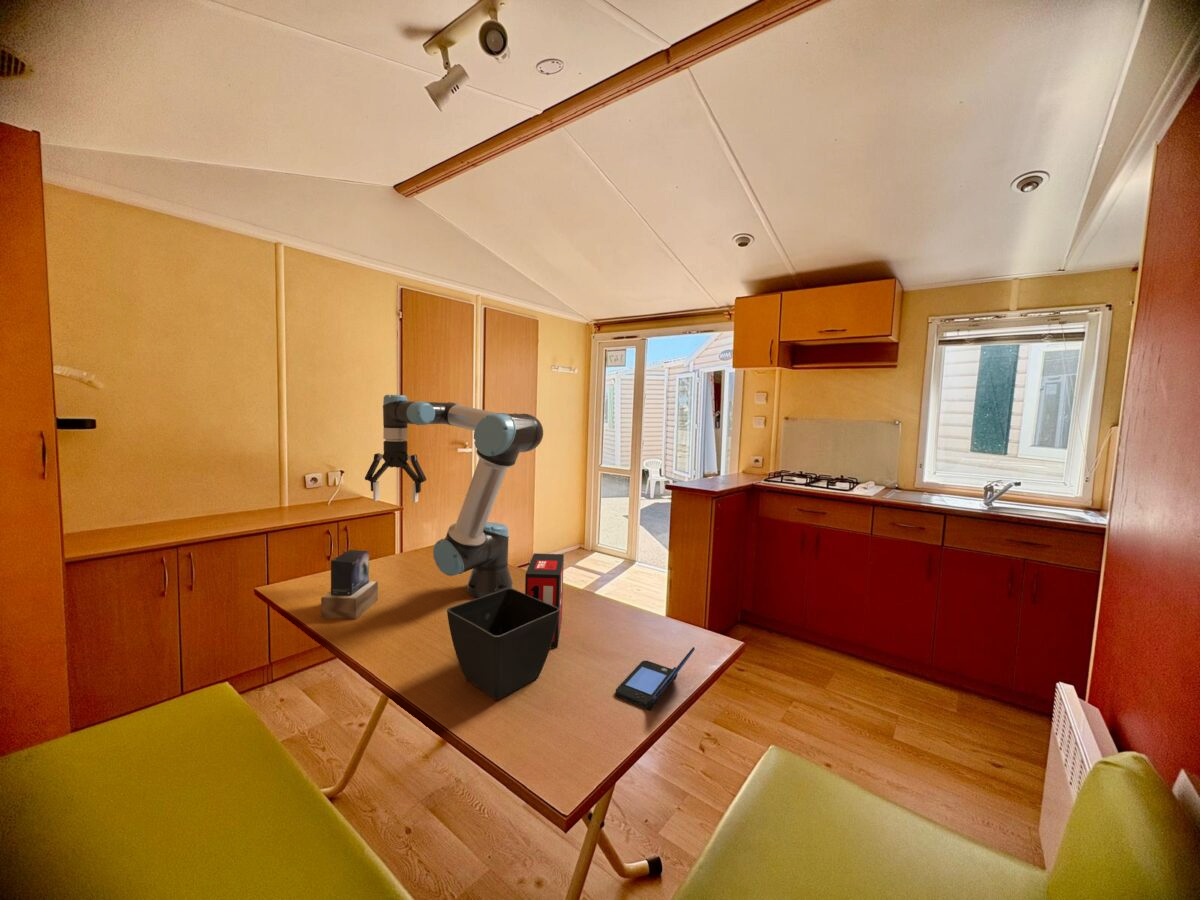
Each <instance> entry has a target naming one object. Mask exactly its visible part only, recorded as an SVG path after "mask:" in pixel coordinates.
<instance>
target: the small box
mask: <svg viewBox="0 0 1200 900" xmlns="http://www.w3.org/2000/svg"><path fill="white" fill-rule="evenodd" d="M369 554H370V551H369V550H359V549H357V550H356V549H349V550H347V551H344V553H342V554H340V555H338V556H336V557H334V558H333V559H331V560H330V592H331V595H347V596H351V595H352V594H354V593H355V592H356V591H358V590H359V589H361V588H362V587H363V586H365V585H366V584H367V583H369V581H370V580H369V579H370V573H369V572H370V571H369V570H370V569H369V567H370V566H369V565H370V555H369Z"/></svg>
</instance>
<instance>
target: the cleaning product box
mask: <svg viewBox="0 0 1200 900" xmlns="http://www.w3.org/2000/svg"><path fill="white" fill-rule="evenodd" d="M564 557H565V556H564V553H563V554H562V553H561V554H559V553H535V552H534V553H533V554H532V557H531V559H530V561H529V565H528V567H527V568H526V571H525V575H524V576H525V582H524V583H525V585H524V594H527V595H529V596H531V597H534V598H536V599H538V600H541V601H543V602H546V603H548V604H550V605H553V606H555V607H557V608H559V609H560V611H559V617H558V622H557V626H556V630H555V634H554V638H553V641H552V644H551V647H550V649H551V648H552V649H559V648H558V647H559V641H560V640H559V639H560V634H561V628H562V620H563V619H562V618H563V598H564V597H563V596H564V595H563V594H564V593H563V591H564V589H563V588H564V561H565V560H564Z"/></svg>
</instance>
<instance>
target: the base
mask: <svg viewBox="0 0 1200 900" xmlns="http://www.w3.org/2000/svg"><path fill="white" fill-rule="evenodd" d="M378 585H379V583H378V581H372V580H369V583H367V584H366V585H365V586H363V587H362V588H361V589H359V590H358V591H356V592H355V593H354V594H352V595H351V596H347V595H331V591H330V592H328V593H326V594H325V595H323V596H321V598H320V602H321V603H320V605H321V619H342V620H357V619H358V618H359V617H361V615H363V614H364V613H365V612H366V611H367V610H369V609H370V608H371V607H372V606H373V605H375V604H376V602H378V600H379V595H378V594H379V591H378V590H379V589H378V588H379V586H378Z"/></svg>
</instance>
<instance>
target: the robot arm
mask: <svg viewBox="0 0 1200 900" xmlns="http://www.w3.org/2000/svg"><path fill="white" fill-rule="evenodd" d="M382 401H383V402H382V403H383V405H382V420H383V422H382V424H383V425H382V426H383V432H382V433H383V434H382V435H383V436H382V437H383V438H382V439H383V442H382V443H383V454H382V453H380V452H378V453H375V454H373V460H372V463H371V465H370V467H369V468H368V470H367V471H366V474H365V477H364V480H365V481H368V482H370V491H371V492H372V493H373V494H372V497H373V498H372V499H373V502H378V501H379V500H380V481H378V480H379V478H380V477H381V476H382V475H383V474H384V472H386V470H387V469H388V468H401V469H403V470H404V471H405V472H406V474H407V475H408V476H409V478H411V480H412V481H413V482H414V483H412V503H413V504H414V503H415V504H416V503H418V502H419V494H420V493H421V491H422V489H421V488H422V483H424V482H426V481H427V477H426V475H425V473H424V471H423V469H422V467H421V465H420V462H419V461H418V456H417V454H410V455H409V454H408V451H409V450H408V447H409V446H408V441H407V440H408V424H409V425H417V426H426V425H448V426H452V427H457V428H462V429H466V430H470V431H473V439H474V446H475V448H476V455H477V456H478V461H477V463H476V467H475V470H474V473H473V475H472V478H471V481H470V484H469V485H468V486H469V487H468V489H467V492H466V495H465V497H464V501H463V502H462V506H461V508H460V510H459V511H460V512H459V514H458V517H457V520H456V521H455V523H453V524H451V525H450V526H449V527H448V529H447V532H446V534H445V538H441V539H439V540H438V541H436V542H435V544H434V546H433V549H432V555H433V560H434V562H435V565H436V566H437V568H438V570H439V571H440V572H441V573H443V574H444V575H446V576H448V577H449V576H450V577H453V576H454V577H455V576H457V575H462V574H463V573H466V572H467V571H471V573H470V576H469V578H468V581H467V588H466V589H467V593H468V594H469V595H470V596H471V597H474V598H480V597H483V596H486V595H489V594H492V593H495V592H498V591H501V590H504V589H507V588H512V589H513V587H514V586H513V580H512V576H511V573H510V570H509V567H508V565H509V563H508V561H509V537H510V536H509V528H508V527H507V525H505V524H503V523H499V522H489V519H490V515H491V513H492V510H493V507H494V505H495V502H496V500H497V497H498V494H499V491H500V489H501V486H502V484H503V481H504V479H505V476H506V473H507V470H508V468H511V467H513V466H514V465H516V463H517V462H516V461H517V459H518V457H519V454H520V453H526V452H531V451H533V450H535V449H536V448H537V447H538V446H539V445H540V444H541V442H542V441H543V438H544V428H543V427H544V426H543V425H542V423H541V421H540V420H539V419H538V418H537V417H536V416H534V415H532V414H529V413H516V412H515V413H505V412H494V411H489V410H485V409H480V408H475V407H470V406H467V405H466V406H465V405H461V404H459V403H458V402H457V403H456V402H452V401H449V402H435V401H420V400H419V401H417V400H416V401H415V400H414V401H409V400H408V396H406V395H404V394H403V395H402V394H385V395H384V396H383V399H382ZM382 459H383V461H384V463H382V465H381V467H379V469H378V470H377V471H376V469H377V468H378V466H379V464H380V463H381V460H382ZM408 460H409V461H410V462H411V465H412V467H413V469H414V470H413V469H412V468H411V466H410V464H409V462H408Z"/></svg>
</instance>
